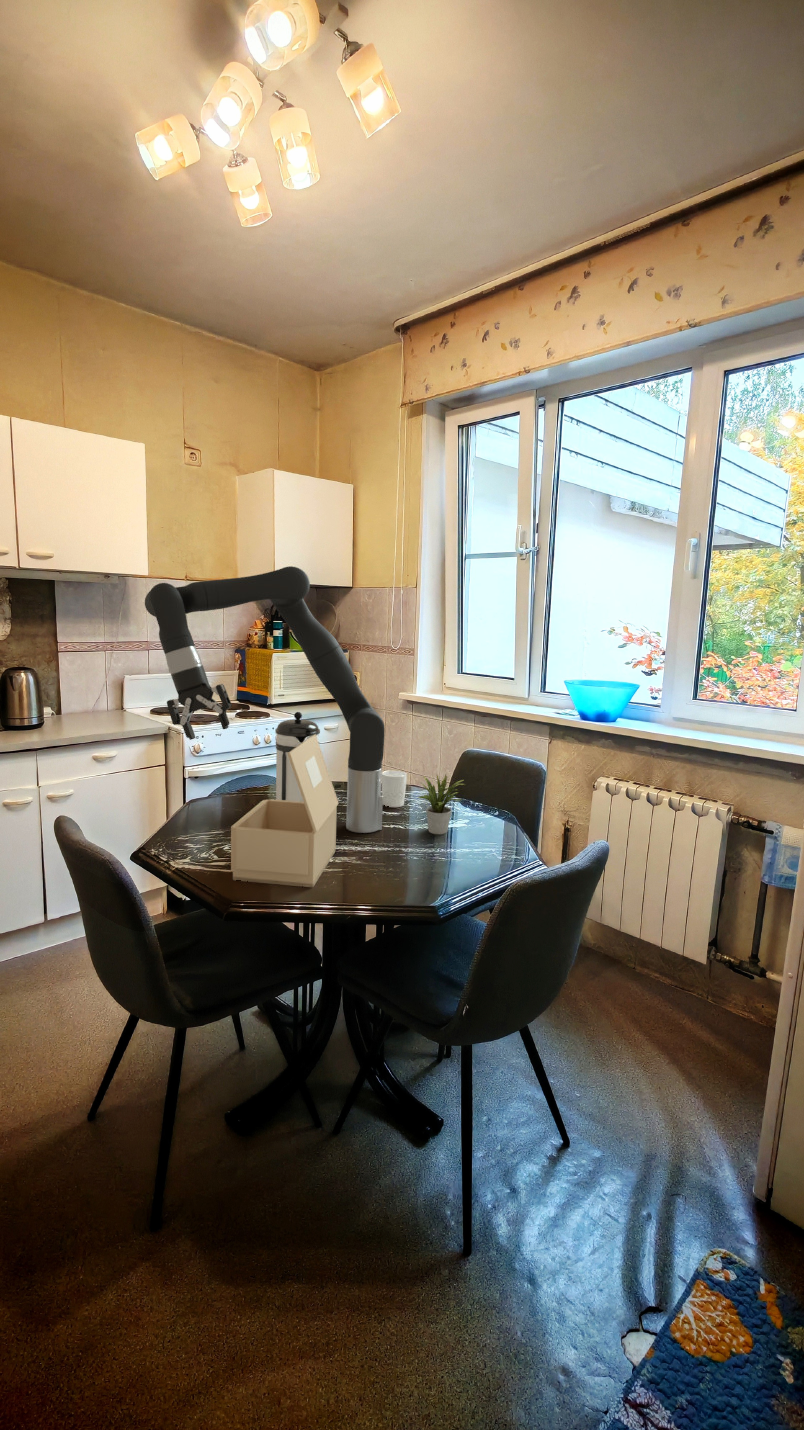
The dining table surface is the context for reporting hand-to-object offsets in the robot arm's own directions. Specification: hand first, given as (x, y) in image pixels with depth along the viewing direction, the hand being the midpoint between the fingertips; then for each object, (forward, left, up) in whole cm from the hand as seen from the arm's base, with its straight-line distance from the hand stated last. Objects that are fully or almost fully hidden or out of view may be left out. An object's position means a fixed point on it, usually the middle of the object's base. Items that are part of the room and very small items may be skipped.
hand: (209, 733), depth 154 cm
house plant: (-61, -1, -29) cm, 68 cm away
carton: (-17, +13, -29) cm, 36 cm away
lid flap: (-22, +15, -8) cm, 28 cm away
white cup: (-56, -29, -29) cm, 70 cm away
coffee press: (-25, -28, -29) cm, 48 cm away
